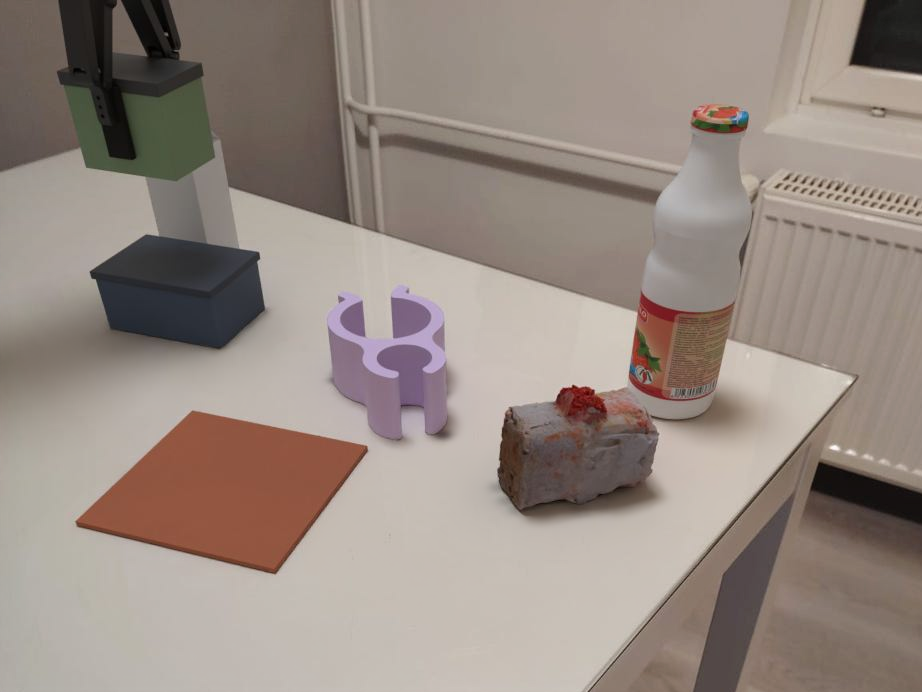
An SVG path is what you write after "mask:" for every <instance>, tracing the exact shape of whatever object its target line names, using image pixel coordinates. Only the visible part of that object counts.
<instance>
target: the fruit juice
mask: <svg viewBox="0 0 922 692" xmlns="http://www.w3.org/2000/svg"><path fill="white" fill-rule="evenodd" d="M749 116H750V115H749V112H748V111H746V110H745V109H743V108H740V107H738V106H734V105H729V104H718V103H717V104H716V103H715V104H714V103H713V104H712V103H711V104H704V105H699V106H696V107H695V108H694V109H693V111H692V114H691V118H690V127H689V130H690V133H691V134H692V135H691V140H690V141H691V142H690V146H689V148H688V152H687V155H686V157H685V159H684V161H683V163H682V165H681V167H680V169H679V171H678V173H677V175H676V176H675V178H673V180H672V181H671V182H670V183H669V184H668V185H667V186H666V187H665V188H664V189H663V190H662V192H661V193H660V195H659V196H658V198H657V200H656V202H655V204H654V209H653V214H652V232H653V246H652V248H651V250H650V252H649V253H648V255H647V258H646V261H645V263H644V269H643V273H642V278H641V285H640V293H639V300H638V305H637V306H638V307H637V314H636V320H635V328H634V333H633V334H634V335H633V341H632V348H631V355H630V362H629V369H628V375H627V382H626V383H627V384H626V387H627V388H628V389H629V390H630V391H631V392H633V394H635V395H636V396H637V398H638V399H639V400H640V402H641V403H642V404H643V406H644V407H645V408H646V409H647V411H648V413H649V414H650V416H651V417H655V418H659V419H665V420H686V419H691V418H696V417H698V416H700V415H702V414H703V413H705V412H706V411H707V410H708V409H709V408H710V406H711V405H712V403H713V400H714V397H715V394H716V389H717V385H718V380H719V376H720V371H721V367H722V363H723V358H724V353H725V350H726V344H727V339H728V335H729V331H730V328H731V327H730V326H731V322H732V317H733V314H734V309H735V305H736V300H737V296H738V293H739V285H740V281H741V280H740V279H741V271H742V269H741V262H740V252H741V249H742V248H743V245H744V243H745V242H746V239H747V237H748V234H749V232H750V229H751V226H752V225H751V224H752V218H753V208H752V202H751V199H750V197H749V195H748V193H747V191H746V189H745V187H744V184H743V181H742V177H741V167H740V149H741V148H740V147H741V141H742V139H743V138H744V137H745V135H746V134H747V129H748V127H749V119H750V117H749Z"/></svg>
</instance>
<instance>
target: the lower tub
mask: <svg viewBox="0 0 922 692" xmlns="http://www.w3.org/2000/svg"><path fill="white" fill-rule="evenodd" d="M260 260H261V254H260V251H257V250H250V249H244V248H243V249H242V248H240V249H238V248H231V247H225V246H218V245H212V244H206V243H199V242H193V241H187V240H180V239H174V238H168V237H161V236H159V235H154V234H148V233H146V234H144V235H143V236H141V237H139V238H138V239H136V240H134V242H132V243H130V244H129V245H128V246H126V247H124V248H123V249H121V250H120V251H118V252H117V253H115V254H114V255H112V256H111V257H109V258H108V259H106V260H105V261H103V262H102V263H100V264H98V265H97V266H95V267H94V268H92V269H91V270H89V275H90V278H91V279H92V280H95V282H96V285H97V288H98V291H99V295H100V298H101V299H100V300H101V302H102V305H103V309H104V312H105V316H106V320H107V322H108V327H109V329H111V330H117V331H122V332H128V333H133V334H138V335H144V336H150V337H155V338H160V339H166V340H171V341H177V342H182V343H188V344H193V345H199V346H204V347H209V348H215V349H222V348H223V347H224V346H225V345H226V344H227V343H229V342H230V341H231V340H232V339H234V337H236V336H237V335H238V334H239V333H240V332H241V331H242V330H243V329H244V328H246V327H247V325H249V324H250V323H251V322H252V321H253V320H255V318H257V317H258V316H259V315H260V314H261V313H262V312H263V311H265V309H266V306H265V300H264V294H263V286H262V281H261V276H260V270H259V261H260Z"/></svg>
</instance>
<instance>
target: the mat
mask: <svg viewBox="0 0 922 692" xmlns="http://www.w3.org/2000/svg"><path fill="white" fill-rule="evenodd" d="M368 447H369V446H368V445H366V444H361V443H356V442H351V441H347V440H341V439H336V438H332V437H326V436H321V435H317V434H316V435H315V434H312V433H306V432H303V431H297V430H292V429H287V428H281V427H277V426H271V425H267V424H262V423H257V422H252V421H247V420H242V419H237V418H233V417H227V416H223V415H218V414H212V413H208V412H202V411H199V410H191V411H189V413H188V414H187V415H186V416H185V417H184V418H183V419H181V421H179V423H177V424H176V425H175V426H174V427H173V428H172V429H171V430H170V431H169V432H168V433H167V434H166V435H164V437H162V439H160V440H159V441H158V442H157V443H156V444H155V445H154V446H153V447H152V448H151V449H150V450H148V452H146V454H144V455H143V456H142V457H141V458H140V459H139V460H138V461H137V462H136V463H135V464H134V465H133V466H132V467H131V468H130V469H129V470H128V471H127V472H126V473H124V475H122V476H121V477H120V478H119V479H118V480H117V481H116V482H115V483H114V484H112V486H110V488H109V489H108V490H107V491H106V492H104V493H103V495H101V496H100V497H99V498H98V499H97V500H96V501H95V502H94V503H93V504H92V505H91V506H89V508H87V510H86V511H84V512H83V513H82V514H81V515H80V516H79V517H78V518H77V519H76V520H75V521H74V522H75V524H76V526H78V527H82V528H85V529H90V530H93V531H99V532H102V533H107V534H111V535H114V536H119V537H123V538H127V539H132V540H136V541H140V542H144V543H147V544H153V545H156V546H161V547H165V548H169V549H173V550H178V551H182V552H185V553H189V554H193V555H198V556H202V557H206V558H211V559H215V560H218V561H223V562H227V563H232V564H235V565H240V566H243V567H248V568H251V569H256V570H259V571H264V572H268V573H273V574H276V573H277V571H278V570H279V569H280V567H282V565H283V564H284V562H285V561H286V560H287V559H288V557H289V556H290V554H291V553H292V552H293V550H294V549H295V547H296V546H297V545H298V544H299V542H300V541H301V539H303V537H304V536H305V534H306V533H307V532H308V530H309V529H310V528H311V526H312V525H313V523H314V522H315V521H316V520H317V519H318V517H319V515H320V514H321V513H322V511H323V510H324V509H325V508H326V507H327V505H328V504H329V502H330V501H331V499H332V498H333V497H334V495H336V493H337V491H338V490H339V489H340V488H341V486H342V485H343V484H344V482H345V481H346V479H347V478H348V477H349V475H350V474H351V473H352V472H353V470H354V469H355V467H356V466H357V465H358V463H359V462H360V461H361V460H362V458H363V457H364V455H365V454H366V453H367V452H368V449H369V448H368Z"/></svg>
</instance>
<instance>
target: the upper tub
mask: <svg viewBox="0 0 922 692" xmlns="http://www.w3.org/2000/svg"><path fill="white" fill-rule="evenodd" d="M81 70H83V69H82V68H81ZM98 70H99V73H100V69H99V68H98ZM56 74H57V77H58V83H59V85H61V86H63V89H64V93H65V97H66V99H67V102H68V107H69V111H70V113H71V118H72V123H73V125H74V129H75V133H76V137H77V139H78V143H79V148H80V151H81V154H82V155H81V156H82V159H83V161H84V166H85V168H86V169H91V170H96V171H97V170H98V171H103V172H104V171H106V172H110V173H116V174H117V173H118V174H124V175H131V176H138V177H143V178H145V177H150V178H157V179H164V180H170V181H178V180H180V179H181V178H183V177H184V176H186V175H188V174H189V173H191V172H193V171H194V170H196V169H197V168H199V167H201V166H202V165H204V164H206V163H207V162H209V161H211V160H212V159H214V158H215V152H214V147H213V141H212V135H211V131H212V130H211V124H210V119H209V113H208V107H207V102H206V96H205V90H204V84H203V78H202V77H204V76H205V74H204V68H203V63H202V62H198V61H189V60H181V59H179V60H174V59H165V58H157V57H149V56H147V55H140V54H132V53H131V54H130V53H122V52H113V83H112V85H113V86H119V87H120V91H121V95H122V99H123V103H124V108H125V112H126V116H127V120H128V125H129V129H130V133H131V137H132V142H133V146H134V150H135V155H136V158H135V159H134V160H127V159H120V158H113V157H109V153H108V149H107V145H106V141H105V137H104V133H103V130H102V126H101V124H100V123H99V121H98V118H97V114H96V111H95V107H94V103H93V99H92V95H91V91H90V89H89V88H88V86H83V85H80V84H77V83H73V82H72V81H71V79H70V74H69V68H68V66H66V67H63V68H60V69H58V70H56Z"/></svg>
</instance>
